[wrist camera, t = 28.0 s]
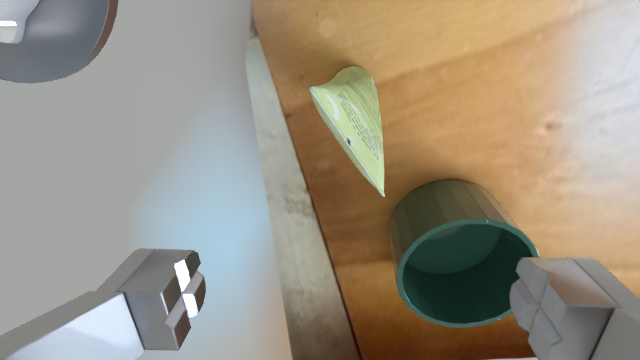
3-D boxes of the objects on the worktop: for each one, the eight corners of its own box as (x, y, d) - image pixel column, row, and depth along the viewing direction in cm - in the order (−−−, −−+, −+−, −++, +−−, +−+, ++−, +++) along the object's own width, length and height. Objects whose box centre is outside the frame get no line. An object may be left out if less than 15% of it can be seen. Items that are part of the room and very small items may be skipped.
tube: (319, 104, 37) (290, 175, 19) (330, 58, 34) (308, 88, 17) (368, 117, 37) (384, 198, 19) (382, 71, 35) (415, 115, 17)
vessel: (385, 271, 46) (392, 324, 37) (391, 179, 40) (401, 217, 31) (491, 275, 44) (523, 330, 36) (514, 179, 38) (558, 220, 30)
